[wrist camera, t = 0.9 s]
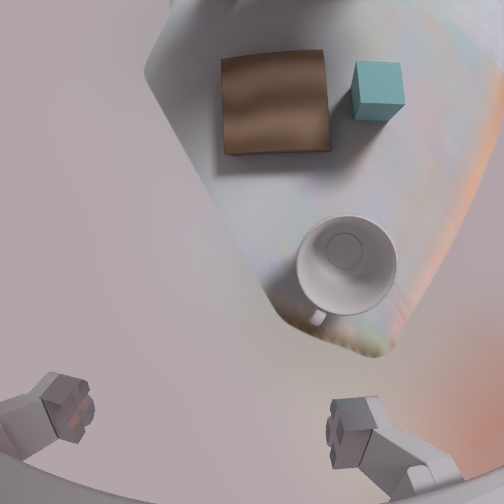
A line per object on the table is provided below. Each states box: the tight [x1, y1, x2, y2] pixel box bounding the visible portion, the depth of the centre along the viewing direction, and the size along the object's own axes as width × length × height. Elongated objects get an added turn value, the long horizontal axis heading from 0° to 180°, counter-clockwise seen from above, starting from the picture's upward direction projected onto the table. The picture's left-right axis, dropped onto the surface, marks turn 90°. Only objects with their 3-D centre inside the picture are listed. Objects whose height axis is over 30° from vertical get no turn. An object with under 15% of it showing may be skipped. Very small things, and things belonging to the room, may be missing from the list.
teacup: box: [296, 214, 398, 326], centre depth 41 cm, size 12×15×10 cm
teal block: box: [351, 61, 405, 121], centre depth 34 cm, size 5×5×11 cm
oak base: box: [221, 50, 331, 156], centre depth 41 cm, size 14×14×4 cm
